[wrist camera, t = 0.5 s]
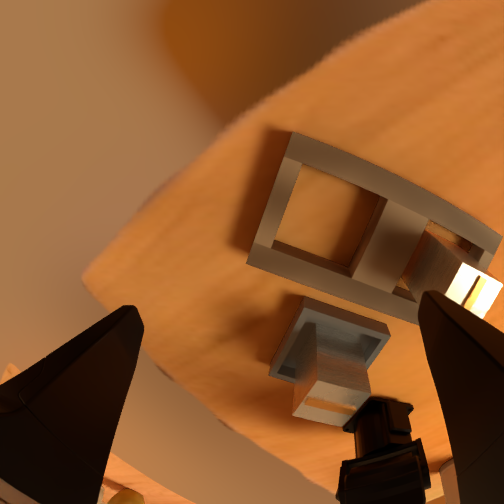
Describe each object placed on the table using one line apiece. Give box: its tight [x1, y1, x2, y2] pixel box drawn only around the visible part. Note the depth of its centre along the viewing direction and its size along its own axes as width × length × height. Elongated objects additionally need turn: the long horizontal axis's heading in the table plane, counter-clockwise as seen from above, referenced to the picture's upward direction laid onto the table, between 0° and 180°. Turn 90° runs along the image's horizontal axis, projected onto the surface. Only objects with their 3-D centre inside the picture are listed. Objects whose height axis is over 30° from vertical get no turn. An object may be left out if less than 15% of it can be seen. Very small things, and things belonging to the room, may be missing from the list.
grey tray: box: [269, 296, 391, 383], centre depth 26 cm, size 8×8×2 cm
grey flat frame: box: [246, 132, 503, 325], centre depth 21 cm, size 10×19×2 cm, turn 72°
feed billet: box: [292, 323, 371, 427], centre depth 23 cm, size 4×4×7 cm
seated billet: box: [401, 229, 503, 319], centre depth 19 cm, size 4×4×7 cm
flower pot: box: [107, 488, 145, 504], centre depth 50 cm, size 10×10×7 cm
